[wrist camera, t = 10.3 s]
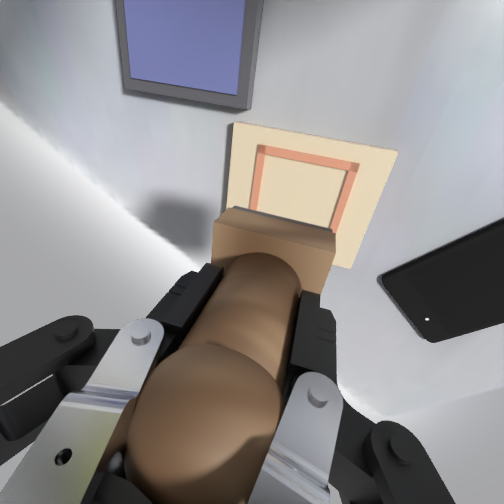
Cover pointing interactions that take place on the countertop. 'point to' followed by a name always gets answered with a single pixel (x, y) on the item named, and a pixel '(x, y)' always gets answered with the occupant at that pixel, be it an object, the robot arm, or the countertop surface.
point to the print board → (309, 181)
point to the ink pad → (191, 48)
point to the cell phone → (454, 286)
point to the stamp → (228, 365)
